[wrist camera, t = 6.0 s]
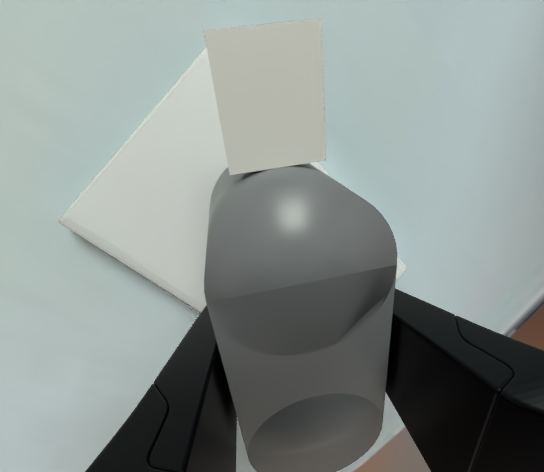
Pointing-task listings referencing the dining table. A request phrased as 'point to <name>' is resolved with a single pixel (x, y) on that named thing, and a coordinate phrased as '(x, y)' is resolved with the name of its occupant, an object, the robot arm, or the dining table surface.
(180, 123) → the external hard drive
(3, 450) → the dining table surface
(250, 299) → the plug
